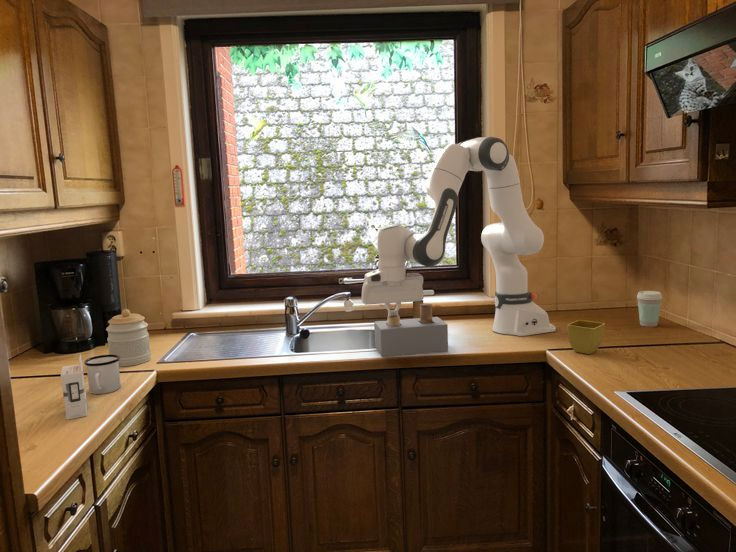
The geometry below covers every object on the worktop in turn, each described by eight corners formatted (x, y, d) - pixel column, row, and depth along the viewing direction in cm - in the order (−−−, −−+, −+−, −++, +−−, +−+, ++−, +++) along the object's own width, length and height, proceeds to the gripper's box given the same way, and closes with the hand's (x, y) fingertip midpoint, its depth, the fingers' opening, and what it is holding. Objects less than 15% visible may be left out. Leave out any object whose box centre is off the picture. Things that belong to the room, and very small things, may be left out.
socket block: (438, 342, 212) (437, 316, 211) (448, 351, 201) (447, 324, 199) (375, 347, 209) (374, 321, 208) (381, 357, 197) (380, 329, 196)
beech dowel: (399, 340, 206) (398, 314, 204) (401, 343, 202) (400, 316, 201) (387, 341, 205) (386, 315, 204) (389, 344, 201) (388, 317, 200)
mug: (92, 385, 180) (89, 355, 179) (126, 382, 182) (123, 353, 180) (80, 399, 169) (76, 367, 167) (116, 396, 170) (113, 364, 169)
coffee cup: (642, 321, 230) (642, 289, 228) (665, 324, 224) (666, 291, 222) (631, 325, 225) (632, 293, 223) (655, 328, 218) (656, 295, 217)
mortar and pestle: (427, 331, 228) (426, 283, 226) (410, 332, 228) (408, 284, 226) (426, 327, 235) (425, 280, 232) (409, 327, 235) (408, 281, 232)
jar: (147, 365, 199) (142, 311, 197) (105, 368, 197) (99, 314, 195) (154, 354, 212) (149, 304, 209) (114, 357, 210) (109, 306, 207)
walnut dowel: (430, 328, 207) (430, 303, 206) (434, 331, 203) (433, 305, 202) (419, 329, 206) (418, 304, 205) (422, 332, 202) (421, 306, 201)
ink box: (66, 409, 161) (60, 355, 159) (87, 406, 163) (81, 352, 161) (65, 420, 154) (58, 363, 152) (87, 416, 156) (81, 360, 153)
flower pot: (605, 350, 194) (605, 322, 193) (593, 357, 188) (594, 328, 187) (578, 346, 200) (578, 319, 199) (566, 352, 194) (566, 324, 193)
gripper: (420, 271, 205) (421, 311, 207) (359, 274, 202) (361, 316, 204) (425, 273, 199) (426, 315, 201) (362, 277, 195) (364, 320, 198)
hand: (393, 316), depth 202 cm, fingers closed, pressing on beech dowel
